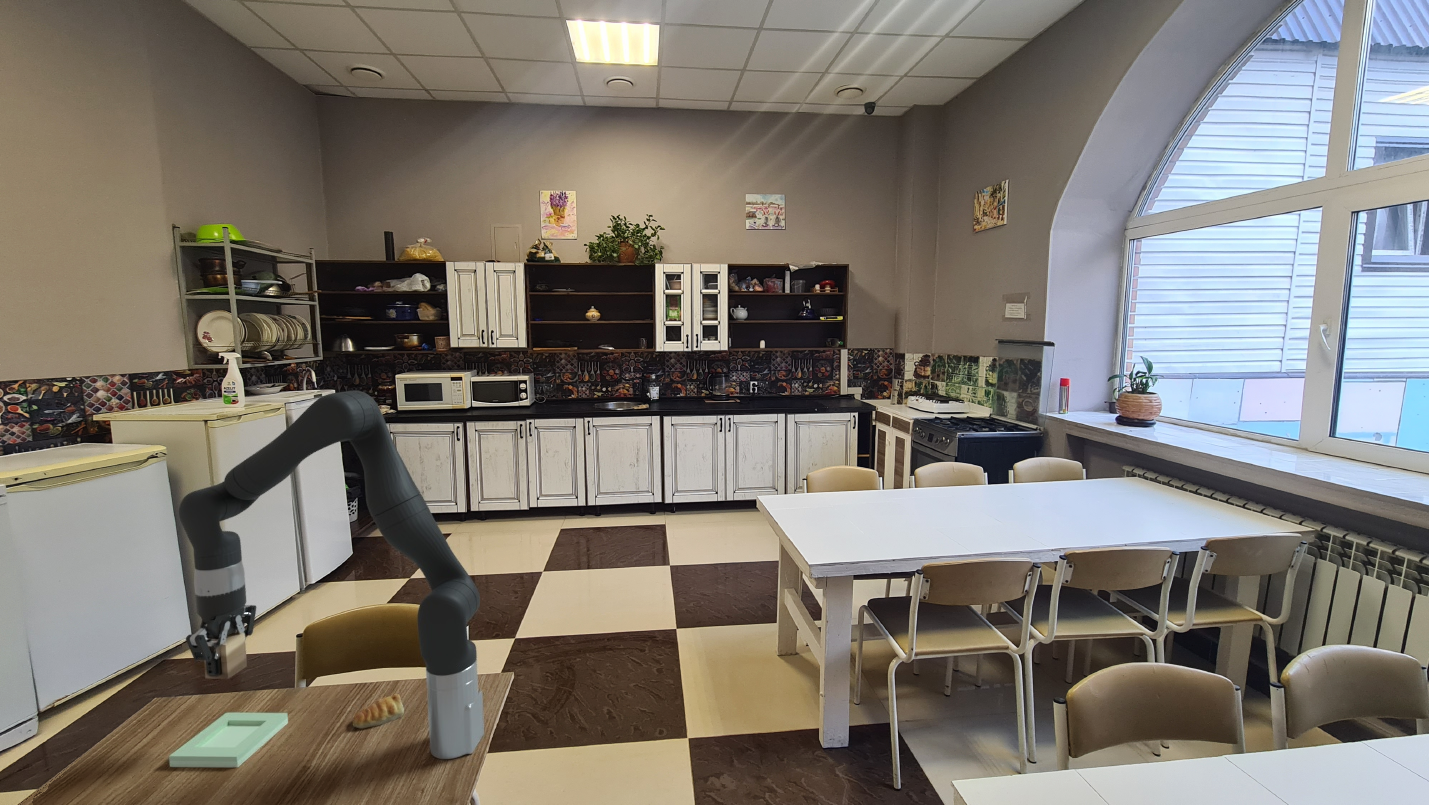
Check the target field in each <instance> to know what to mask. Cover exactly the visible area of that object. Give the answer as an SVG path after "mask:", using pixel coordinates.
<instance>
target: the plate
mask: <svg viewBox="0 0 1429 805" xmlns="http://www.w3.org/2000/svg"><path fill="white" fill-rule="evenodd" d="M288 716H289V715H288V712H225V713H224V714H222V715H221V716H220V717H218V718H217V719H216V720H214V721H213V722H212V723H210V724H209V725H208V726H206V727H205V728H204V729H203V730H201V732H198V733H197V734H196V735H195V736H193V737H192V738H191V739H190V740H188V741H187V742H186V743H184V744H183V745H182V746H181V747H179V748H178V749H176V750H175V751H174V752H173V753H171V754H170V755H169V756H168V761H169V767H170V768H239V767H240V766H241V765H242V764H243V763H244V762H246V761H247V760H248V759H249V758H250V757H251V756H252V755H254V754H255V753H256V752H257V751H258V750H259V749H261V748H262V746H264V745H265V744H266V743H268V742H269V740H271V739H272V738H273V737H275V735H276V734H278V733H279V731H281V730H282V729H283V728H284V727H285V726H286V725H287V724H289V717H288Z"/></svg>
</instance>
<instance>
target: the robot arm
mask: <svg viewBox="0 0 1429 805" xmlns="http://www.w3.org/2000/svg"><path fill="white" fill-rule="evenodd" d="M346 441H349V443H350V444H351V446H352V447H353V449H354V451H355V452H356V454H357V456H358V457H359V460H360V462H361V465H362V468H363V471H364V472H363V473H364V487H365V488H364V489H365V501H366V506H367V510H368V512H369V514H370V516H371V517H372V520H373V521H374V523H375V525H376V527H377V529H378V530H379V531H378V532H380V534H381V536H382V537H383V538H384V540H385V541H386V542H387V543H388V544H389V545H390V546H391V547H392V548H394V549H395V550H396V551H398V552H399V553H401V554H402V555H404V556H405V557H407V558H408V559H409V560H410V561H412V562H413V563H414V564H415V565H416V566H417V567H418V568H419V569H420V571H421V573H422V574H423V576H424V577H425V579H426V581H427V584H428V585H429V587H430V590H431V592H430V593H429V594H428V595H426V597H424V598H423V600H422V601H421V602H420V603H419V607H418V610H417V617H416V618H417V630H418V631H417V632H418V641H419V643H418V644H419V650H420V655H421V657H422V659H423V661H424V663H425V673H426V674H425V676H426V677H425V678H426V695H427V710H428V712H427V713H428V714H427V715H428V717H427V718H428V729H429V730H428V733H429V747H430V748H429V749H430V754H431V755H432V756H433V757H435V758H437V759H440V760H450V759H456V758H460V757H462V756H464V755H470V754H473V752H474V751H475V749H476V747H477V746H478V744H479V742H480V741H481V739H482V738H483V737H484V734H485V725H484V724H485V720H484V703H483V702H484V700H483V691H482V690H479V685H478V684H479V683H478V682H479V680H478V679H479V678H478V664H477V663H478V659H477V658H478V657H477V656H478V655H477V654H478V653H477V651H478V650H477V646H476V644H475V642H474V641H472V640H471V639H468V630H467V629H468V628H467V626H468V625H467V624H468V622H469V621H470V620H471V619H472V618H473V617H474V615H475V614H476V613H477V611H478V609H479V607H480V603H481V597H480V592H479V589H478V586H476V584H475V583H474V581H473V579H472V578H471V576H470V575H469V574H468V572H467V570H466V569H465V568H464V567H463V565H462V563H461V562H460V561H459V559H458V558H457V556H456V555H455V554H454V552H453V550H452V548H451V547H450V544H449V543H448V541H447V539H446V538H445V536H444V534H443V532H442V530H441V529H440V526H439V525H438V524H437V521H436V520H435V518H434V516H433V514H432V512H431V510H430V507H429V506H428V504H427V503H426V500H425V499H424V496H423V495H422V493H421V491H420V489H419V488H418V486H417V485H416V483H415V482H414V480H413V478H412V475H411V473H410V472H409V470H408V467H407V466H406V464H405V461H404V460H403V459H402V457H401V455H400V453H399V451H398V448H397V447H396V445H395V443H394V440H393V438H392V436H391V433H390V430H389V428H388V425H387V423H386V420H385V417H384V415H383V413H382V411H381V408H380V406H379V405H378V403H377V402H376V401H375V399H374V398H373V397H372V396H370V395H369V394H367V393H366V392H364V391H361V390H346V391H340V392H331V393H328V394H325V395H323V396H320V397H319V398H317V399H316V400H314V402H313V403H312V404H310V405H309V406H308V407H307V408H306V409H305V411H303V412H302V414H300V415H299V416H298V417H297V419H295V421H293V422H292V424H290V425H289V426H288V427H287V428H286V429H285V430H284V431H283V432H281V433H280V434H279V435H278V436H277V437H275V438H274V439H273V440H272V441H270V442H269V443H268V444H266V445H265V446H264V447H262V448H260V449H259V450H258V451H256V452H255V453H253V454H251V455H250V456H249V457H247V458H246V459H244V460H243V461H241V462H240V463H239V464H237V465H236V466H234V467H233V468H231V470H229V471H228V472H227V473H226V475H225V476H224V479H223V480H224V481H222V482H220V483H217V484H215V485H211V486H208V487H203V488H200V489H197V490H193V491H190V492H189V493H188V494H186V495H185V496H184V497H183V498H182V500H181V502H180V504H179V508H178V516H179V517H178V518H179V520H180V523H181V526H182V527H183V530H184V532H185V534H186V535H187V538H188V540H189V542H190V544H191V547H192V548H193V549H192V550H193V559H194V575H193V576H194V578H193V584H194V585H193V586H194V597H195V607H196V608H195V610H196V614H197V615H198V616H199V617H200V620H201V621H200V625H199V629H198V631H196V632H195V633H194V634H193V633H192V634H188V635H187V636H186V638H185V641H186V643H187V646H188V648H189V650H190V652H191V655H192V658H193V660H194V661H197V662H204V661H206V668H207V669H206V670H207V675H209V676H210V677H218V676H220V675H221V674H222V664H221V657H220V655H221V646H222V645H223V644H225V642H226V637H227V636H228V635H229V634H242V633H245V642H246V639H247V638H248V636H251V635H252V634H253V633H254V626H255V620H256V614H257V613H256V612H257V605H255V604H254V605H253V604H247V590H246V589H247V588H246V577H245V568H244V564H243V559H242V558H243V556H242V554H243V553H242V545H241V544H242V543H241V537H240V535H239V534H238V533H237V532H234V531H230V530H223V529H222V527H221V522H223V521H226V520H229V519H231V518H233V517H236V516H238V515H240V514H241V513H243V512H245V511H246V510H247V509H249V508H250V507H251V506H252V505H253V504H254V503H255V502H256V501H258V499H259V498H260V497H261V496H262V495H264V494H266V493H267V492H269V491H270V490H271V489H273V488H275V487H276V486H277V485H279V484H281V482H283V481H284V480H285V479H287V478H288V477H289V476H290V475H291V474H292V473H293V472H294V471H295V470H296V469H297V467H298V466H299V465H300V464H301V463H302V462H303V461H304V460H306V459H307V458H308V457H310V456H312V455H313V454H315V453H316V452H318V451H320V450H322V449H324V448H326V447H329V446H331V445H334V444H336V443H339V442H346ZM245 625H246V628H245ZM211 639H218V641H212V640H211ZM211 646H214V652H211Z"/></svg>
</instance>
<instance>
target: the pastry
mask: <svg viewBox="0 0 1429 805" xmlns="http://www.w3.org/2000/svg"><path fill="white" fill-rule="evenodd" d="M401 699H402V698H401V696H400V694H399V693H398V694H397V693H393V694H392V695H389V696H385V697H382V698H379V699H377V700H375V701H374V702H373V703H372V704H370V705H368V706H365V707H364V708H363V709H361V710H360V711H359V712H356V714H355V716H354V717H353V720H352V726H353V727H354V728H357V729H366V728H371V727H377V726H381V725H383V724H386V723H390V722H392V721H394V720H398V719H400V718H401V717H403V715H404V713H405V709H404V705H403V703H402V700H401Z"/></svg>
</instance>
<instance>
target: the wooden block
mask: <svg viewBox="0 0 1429 805" xmlns="http://www.w3.org/2000/svg"><path fill="white" fill-rule="evenodd" d="M211 640H212V641H218V639H211ZM246 645H247V644H246V641H245V633H242V634H229V635H228V636H227V637H226V642H225V644H223V645H222V646H221V655H220V657H221V664H222V674H221V675H220V676H218V677H210V676H209V675H207V670H206V669H207V668H206V661H203V663H204V675H205V676H204V677H205V679H216V680H217V679H218V680H220V679H221V680H229V679H230V678H232V677H233V676H234V675H237V674H238V673H239V672H241V671H242V670H243V669H245V668H246V667H248V664H247V663H248V661H247V660H248V659H247V650H246V648H247V647H246ZM211 652H214V646H211Z"/></svg>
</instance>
